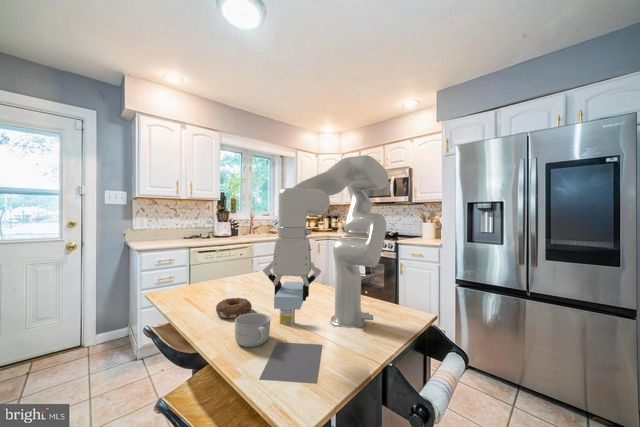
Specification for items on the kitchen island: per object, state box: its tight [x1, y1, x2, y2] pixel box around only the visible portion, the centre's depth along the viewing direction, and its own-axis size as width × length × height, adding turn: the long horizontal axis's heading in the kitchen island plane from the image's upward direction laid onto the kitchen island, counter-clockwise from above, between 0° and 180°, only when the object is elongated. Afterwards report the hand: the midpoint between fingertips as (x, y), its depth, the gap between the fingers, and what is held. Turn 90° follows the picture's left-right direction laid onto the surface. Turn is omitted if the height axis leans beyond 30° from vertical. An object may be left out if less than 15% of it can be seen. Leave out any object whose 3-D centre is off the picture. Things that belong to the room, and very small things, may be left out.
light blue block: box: [273, 280, 304, 310], centre depth 72 cm, size 6×14×3 cm, turn 176°
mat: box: [259, 341, 323, 384], centre depth 72 cm, size 14×18×1 cm
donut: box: [215, 297, 253, 319], centre depth 106 cm, size 14×14×5 cm
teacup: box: [234, 312, 272, 348], centre depth 81 cm, size 14×11×8 cm
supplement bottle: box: [279, 309, 296, 326], centre depth 96 cm, size 5×5×10 cm
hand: (291, 298), depth 72 cm, fingers closed on light blue block, 6 cm apart
